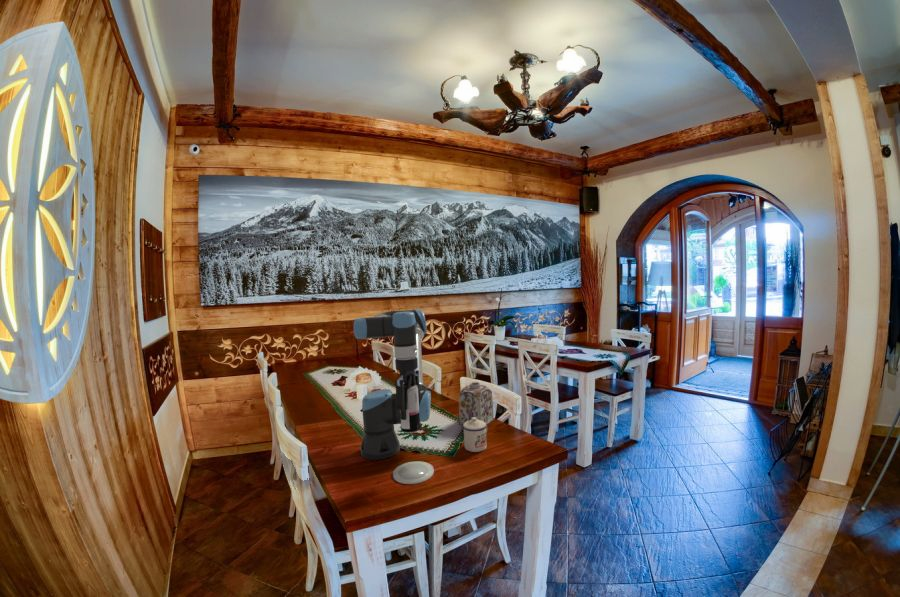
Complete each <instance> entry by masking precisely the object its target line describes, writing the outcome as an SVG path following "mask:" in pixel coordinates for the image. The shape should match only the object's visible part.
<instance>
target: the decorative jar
mask: <svg viewBox="0 0 900 597" xmlns="http://www.w3.org/2000/svg"><path fill="white" fill-rule="evenodd" d="M493 400H494V399H493V391H492V390H491V389H490V388H489V387H487V386H486V385H485V384H481V383H480V382H477V381H473V382H470V383H469V385H465V386H464V387H463V388H461V390H460V392H459V394H458V412H459V414H458V415H459V416H458V417H459V424H460V425H463V424H464V423H465V422H467V421H470V420H472V418H473V417H476V418H477V420H481V421H483V422H485V424H486V425H487V426H488V425H489V424H490V423H491V422H493V421H494V401H493Z"/></svg>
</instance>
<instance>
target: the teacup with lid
mask: <svg viewBox="0 0 900 597" xmlns="http://www.w3.org/2000/svg"><path fill="white" fill-rule="evenodd" d="M462 428H463V440H464V441H463V442H464V449H465V450H466V451H469V452H473V453H479V452H482V451H485V450H486V449H487V433H488V424H487V425H486V424H485V422H483V421H481V420H477V418H476V417H473V418H472V420H470V421H467V422H465V423H464V424H462Z"/></svg>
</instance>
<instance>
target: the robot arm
mask: <svg viewBox="0 0 900 597" xmlns="http://www.w3.org/2000/svg"><path fill="white" fill-rule="evenodd" d="M427 331H428V328H427V323H426V316H425V313H424V311H423V310H422V309H416V308H415V309H405V310H389V311H385V312H382V313H378V314H375V315H373V316H370V317H359V318H355V319H354V321H353V335H354V337H355V339H356V340H360V339H361V340H366V339H379V338H380V339H381V338H389V337H390V338H393V341H394V344H393V345H394V357H395V360H394V362H395V370H396V371H398V372H399V377H398V379H395V380H394V385H395V392H394V393H393V391H392V389H389V388H385V389H384V388H382V389H378V390H375V391H371V392H369V393H367V394H365V395H364V396H363V398H362V400H361V401H362V402H361V403H362V404H361V405H362V406H361V410H362V422H363V437H362V440H361V445H360V455H361V457H362V458H363V459H366V460H370V461H372V460H373V461H378V460H379V461H380V460H385V459H388V458H391V457H392V458H393V457H394V456H396V455H397V454H398V453H399V452H400V450H401V445H400V440H399V438H398V435H397V433H396V430H395V425H400V429H401V428H402V429H410V423H409V409H407V404H408V393H407V391H408V389H410V386H414V385H417V387H418V397H419V414H420V423H423V422H427V421H429V419H430V414H431V407H432V406H431V405H432V403H431V402H432V400H431V398H432V394H431V393H432V392H431V391H430V390H428V388H427V386H426V385H425V384H424V380H423V379H424V375H423V374H424V372H423V356H422V339H424V337H425V335H426V334H427ZM400 413H401V420H400Z"/></svg>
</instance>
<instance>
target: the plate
mask: <svg viewBox="0 0 900 597" xmlns="http://www.w3.org/2000/svg"><path fill="white" fill-rule="evenodd" d="M434 473H435V470H434V466H433V465H432V464H430V463H428V462H427V461H426V462H425V461H420V460H418V461H417V460H416V461H414V460H413V461H408V462H405V463H402V464H400V465H398V466H396V468H395V469H394V470H393V472H392V478H393V480H394V481H396V482H398V483H400V484H403V485H417V484H421V483H423V482H425V481H427V480H430V479H431V478H432V477H433V476H434Z"/></svg>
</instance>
